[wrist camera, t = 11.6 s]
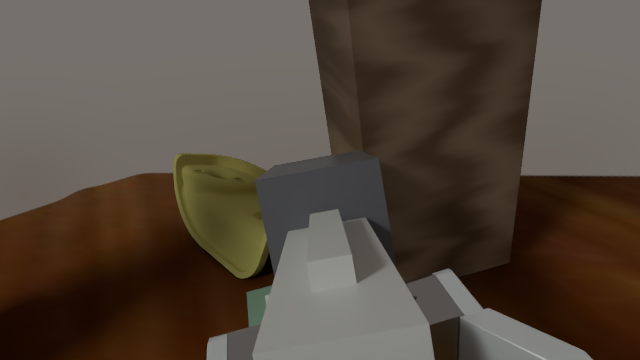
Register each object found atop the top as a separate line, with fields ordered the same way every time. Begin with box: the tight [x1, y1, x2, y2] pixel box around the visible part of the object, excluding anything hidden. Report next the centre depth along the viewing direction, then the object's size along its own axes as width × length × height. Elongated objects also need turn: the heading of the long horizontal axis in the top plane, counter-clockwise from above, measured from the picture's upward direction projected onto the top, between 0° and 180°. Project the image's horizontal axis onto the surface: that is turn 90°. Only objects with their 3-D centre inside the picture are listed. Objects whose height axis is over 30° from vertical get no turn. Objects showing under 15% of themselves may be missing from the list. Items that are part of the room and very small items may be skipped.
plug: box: [252, 151, 435, 360], centre depth 16 cm, size 6×18×6 cm, turn 5°
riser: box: [309, 0, 542, 282], centre depth 30 cm, size 12×11×26 cm
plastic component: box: [173, 153, 269, 279], centre depth 44 cm, size 20×7×10 cm
